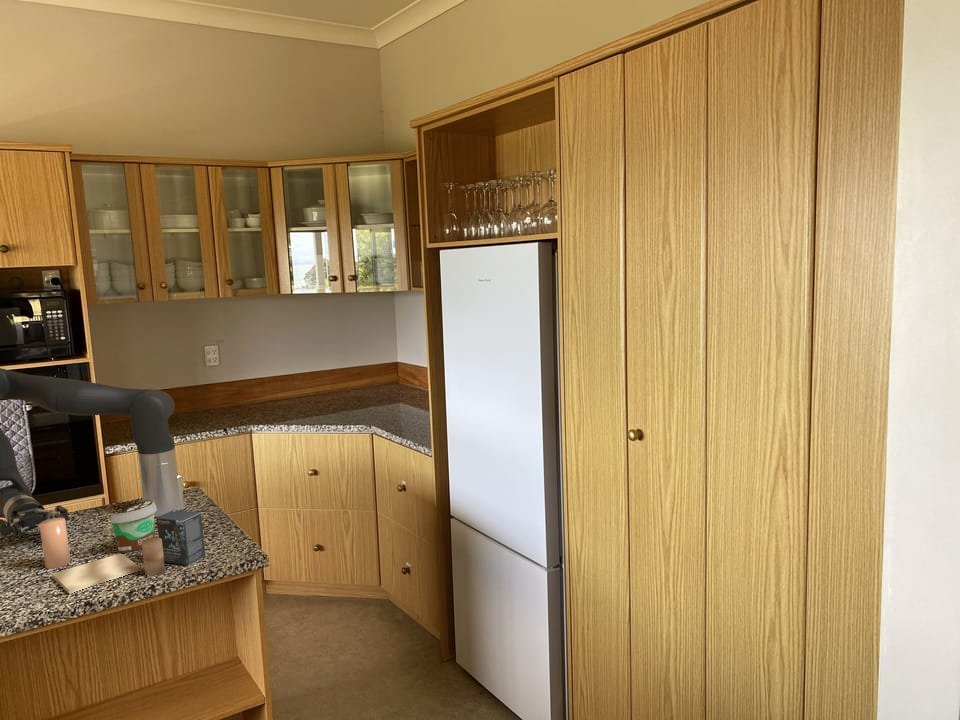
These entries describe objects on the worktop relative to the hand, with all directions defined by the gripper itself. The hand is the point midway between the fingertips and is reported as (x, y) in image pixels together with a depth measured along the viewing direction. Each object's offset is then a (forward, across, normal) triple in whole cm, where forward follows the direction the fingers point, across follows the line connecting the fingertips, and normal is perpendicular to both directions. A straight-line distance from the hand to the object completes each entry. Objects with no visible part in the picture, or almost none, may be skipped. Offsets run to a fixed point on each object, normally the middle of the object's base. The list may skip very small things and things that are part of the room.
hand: (40, 526), depth 169 cm
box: (+32, +20, +6) cm, 38 cm away
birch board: (+25, +4, +6) cm, 26 cm away
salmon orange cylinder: (+11, 0, +6) cm, 13 cm away
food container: (+16, +17, +6) cm, 24 cm away
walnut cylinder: (+34, +13, +6) cm, 37 cm away
